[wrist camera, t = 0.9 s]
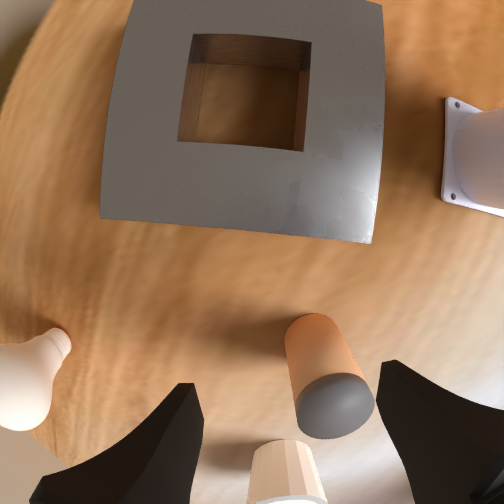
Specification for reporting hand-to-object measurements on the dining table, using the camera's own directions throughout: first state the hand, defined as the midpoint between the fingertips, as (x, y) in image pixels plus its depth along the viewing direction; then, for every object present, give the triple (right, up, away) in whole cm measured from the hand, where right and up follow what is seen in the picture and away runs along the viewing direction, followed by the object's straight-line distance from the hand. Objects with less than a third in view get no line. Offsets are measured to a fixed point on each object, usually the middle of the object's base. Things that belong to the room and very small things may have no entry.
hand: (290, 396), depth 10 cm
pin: (+3, -1, +10) cm, 11 cm away
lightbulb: (-17, -2, +11) cm, 21 cm away
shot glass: (+1, -14, +14) cm, 20 cm away
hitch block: (-2, +14, +7) cm, 16 cm away
